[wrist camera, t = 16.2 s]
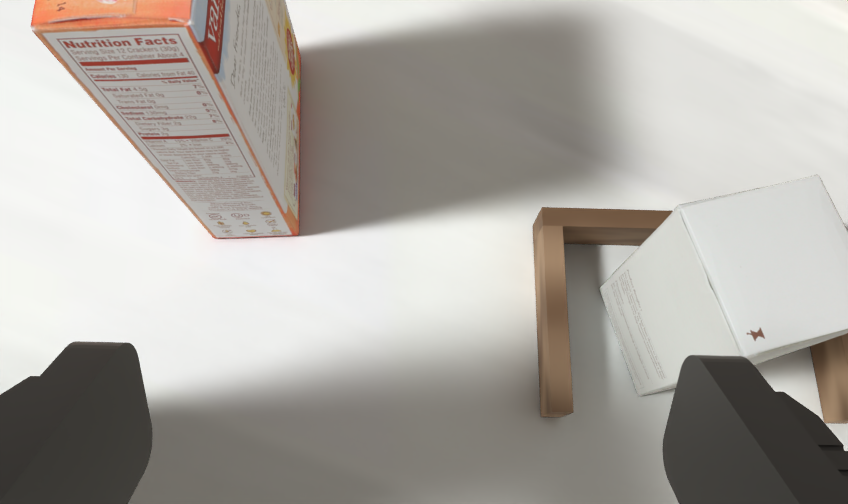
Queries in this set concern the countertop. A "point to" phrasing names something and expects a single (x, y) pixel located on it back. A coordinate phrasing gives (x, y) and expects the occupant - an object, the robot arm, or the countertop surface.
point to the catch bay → (833, 359)
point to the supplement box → (732, 282)
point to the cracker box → (195, 98)
